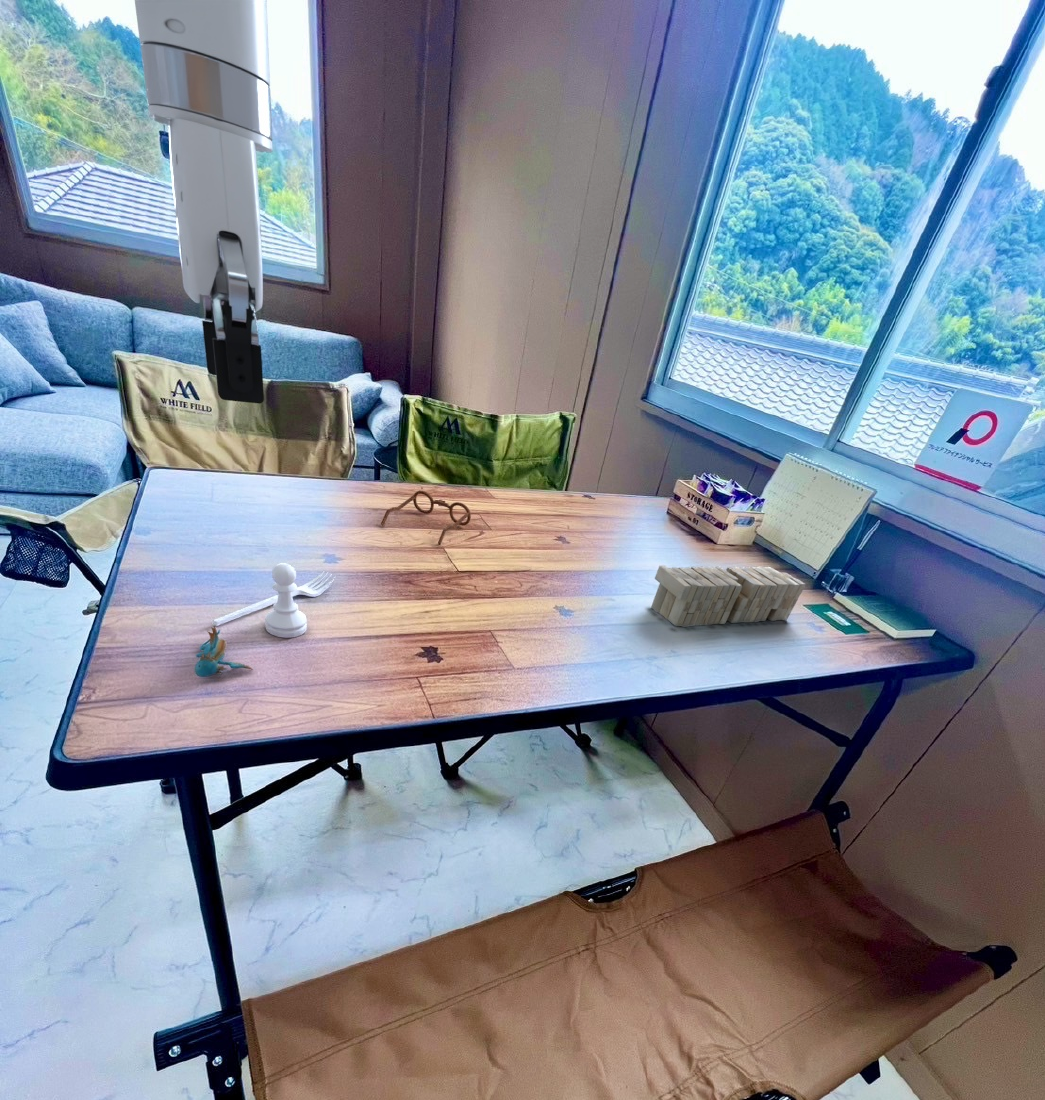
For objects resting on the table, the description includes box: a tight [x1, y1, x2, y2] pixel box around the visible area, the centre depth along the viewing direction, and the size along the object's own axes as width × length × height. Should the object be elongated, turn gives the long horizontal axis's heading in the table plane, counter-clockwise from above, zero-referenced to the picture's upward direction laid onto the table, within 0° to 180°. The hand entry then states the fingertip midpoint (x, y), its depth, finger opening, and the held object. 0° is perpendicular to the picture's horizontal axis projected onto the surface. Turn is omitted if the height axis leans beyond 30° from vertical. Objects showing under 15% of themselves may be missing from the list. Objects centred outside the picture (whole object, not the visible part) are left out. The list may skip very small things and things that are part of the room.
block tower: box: [650, 565, 806, 628], centre depth 105 cm, size 8×8×29 cm
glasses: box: [380, 490, 472, 546], centre depth 115 cm, size 13×13×5 cm
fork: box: [212, 569, 337, 627], centre depth 81 cm, size 3×20×2 cm, turn 150°
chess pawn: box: [264, 562, 308, 639], centre depth 74 cm, size 5×5×9 cm
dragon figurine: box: [194, 625, 254, 678], centre depth 67 cm, size 6×7×8 cm
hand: (234, 387), depth 49 cm, fingers open, 9 cm apart
